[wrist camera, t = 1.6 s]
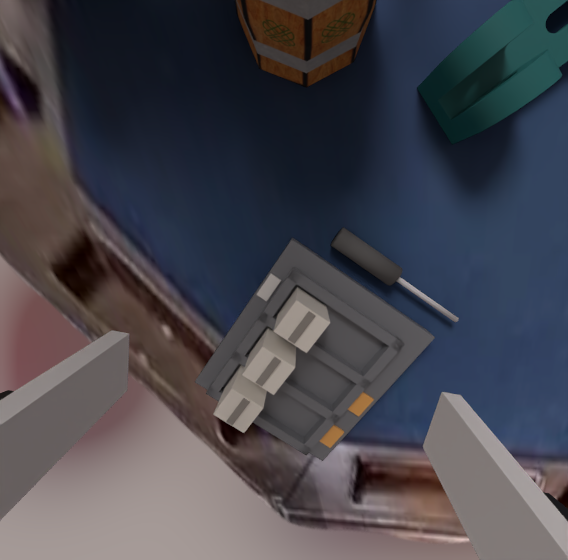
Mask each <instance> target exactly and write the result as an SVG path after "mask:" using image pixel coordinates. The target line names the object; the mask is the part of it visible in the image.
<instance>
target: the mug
mask: <svg viewBox="0 0 568 560" xmlns="http://www.w3.org/2000/svg"><path fill="white" fill-rule="evenodd" d="M375 4H376V0H235V5H236V11H237V16H238V18H239V21H240V23H241V25H242V28H243V30H244V33H245V35H246V37H247V40H248V42H249V45H250V47H251V50H252V52H253V54H254V57H255V59H256V62H257V64H258V66H259V69H262V70H264V71H267V72H269V73H272V74H274V75H277V76H279V77H282V78H284V79H287V80H289V81H292V82H294V83H297V84H299V85H302V86H304V87H308V86H310V85H312V84H314V83H315V82H317V81H319V80H321V79H323V78H325V77H327V76H329V75H330V74H332V73H334V72H336V71H338V70H340V69H342V68H344V67H345V66H347V65H349V64H351V63H353V62H354V60H355V57H356V55H357V52H358V49H359V47H360V44H361V41H362V39H363V36H364V34H365V31H366V28H367V26H368V23H369V20H370V18H371V15H372V12H373V10H374V7H375Z"/></svg>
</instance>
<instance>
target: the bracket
mask: <svg viewBox="0 0 568 560" xmlns="http://www.w3.org/2000/svg"><path fill="white" fill-rule="evenodd" d="M566 1H567V0H512V1H510V2H509V3H508V4H506V5H505V6H504V7H503V8H502V9H500V10H499V11H498V12H497V13H495V14H494V15H493V16H492V17H491V18H490V19H488V20H487V21H486V22H485V23H484V24H483V25H481V26H480V27H479V28H478V29H477V30H476V31H475V32H473V33H472V34H471V35H470V36H469V37H468V38H467V39H466V40H464V41H463V42H462V43H461V44H460V45H459V46H458V47H457V48H456V49H455V50H454V51H452V52H451V53H450V54H449V55H448V56H447V57H446V58H445V59H444V60H443V61H442V62H441V63H440V64H439V65H438V66H437V67H436V68H435V69H434V70H433V71H432V72H431V73H430V75H429V76H428V77H427V78H426V79H425V80H424V81H423V82H422V83H421V84H420V85H419V86H418V87H417V89H418V91H419V92H420V94H421V95H422V97H423V99H424V100H425V102H426V103H427V105H428V107H429V108H430V110H431V111H432V113H433V115H434V116H435V118H436V119H437V121H438V123H439V124H440V126H441V127H442V129H443V131H444V132H445V134H446V135H447V137H448V139H449V140H450V142H451V143H452V144H454V143H457V142H459V141H461V140H464V139H466V138H468V137H470V136H473V135H475V134H477V133H479V132H481V131H483V130H485V129H487V128H489V127H491V126H492V125H494V124H496V123H497V122H499V121H501V120H502V119H504V118H506V117H507V116H509V115H510V114H512V113H513V112H515V111H517V110H518V109H520V108H521V107H523V106H524V105H526V104H527V103H528V102H530V101H531V100H533V99H534V98H536V97H537V96H538V95H540V94H541V93H542V92H544V91H545V90H546V89H548V88H549V87H550V86H552V85H553V84H554V83H555V82H556V81H557V80H559V79H560V78H561V76H562V73H561V71H560V70H559V67H560V66H562V65H563V64H564V63H566V62H567V61H568V24H566V25H565V26H564V27H562V28H561V29H560V30H559V31H557V32H556V33H550V32H548V31H547V29H546V25H545V24H546V20H547V18H548V16H549V15H550V14H551V13H552V12H554V11H555V10H556V9H557V8H559V7H560V6H561V5H562V4H564V3H565V2H566Z"/></svg>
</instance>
